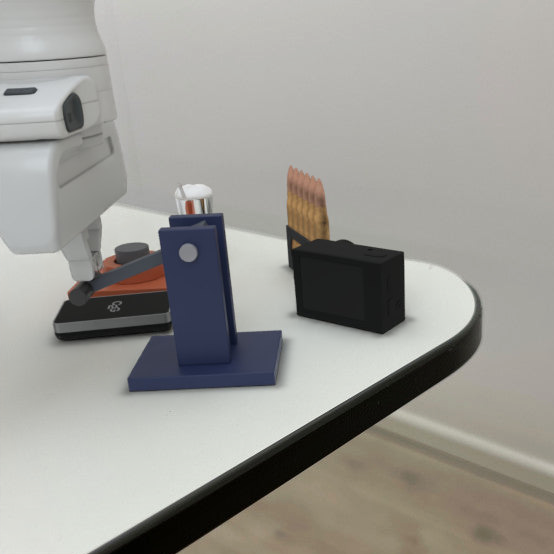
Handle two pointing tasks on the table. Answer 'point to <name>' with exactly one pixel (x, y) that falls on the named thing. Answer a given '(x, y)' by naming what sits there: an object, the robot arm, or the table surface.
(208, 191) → the milkshake
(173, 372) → the switch bracket
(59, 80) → the robot arm
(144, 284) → the button block
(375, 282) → the digital camera
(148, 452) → the table surface
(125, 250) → the button
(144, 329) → the external hard drive
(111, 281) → the switch lever
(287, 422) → the table surface
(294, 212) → the ammunition clip
